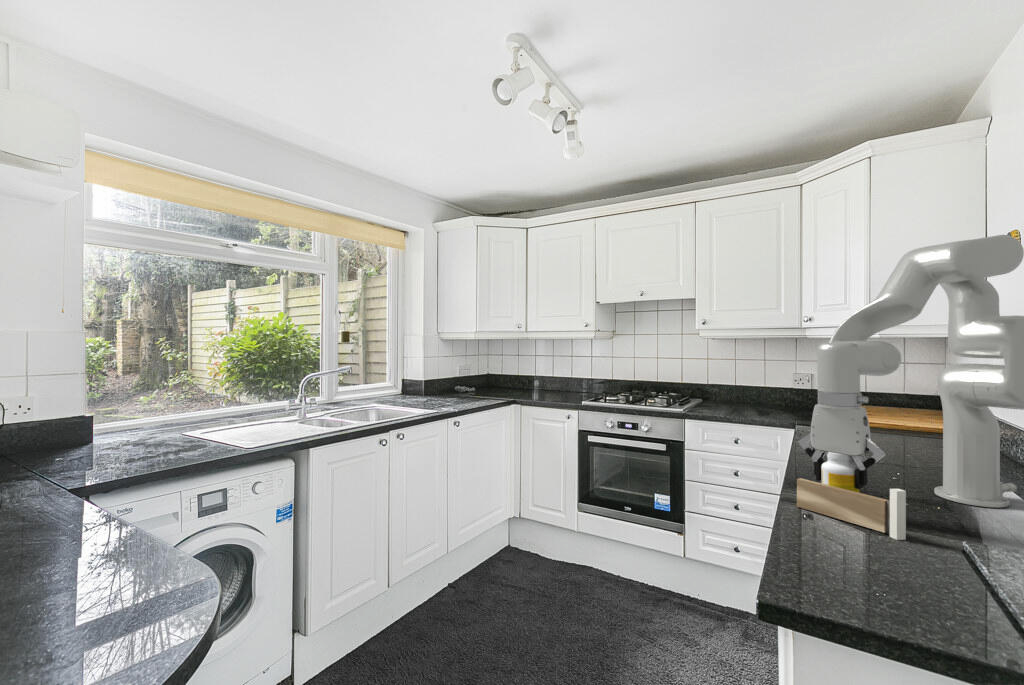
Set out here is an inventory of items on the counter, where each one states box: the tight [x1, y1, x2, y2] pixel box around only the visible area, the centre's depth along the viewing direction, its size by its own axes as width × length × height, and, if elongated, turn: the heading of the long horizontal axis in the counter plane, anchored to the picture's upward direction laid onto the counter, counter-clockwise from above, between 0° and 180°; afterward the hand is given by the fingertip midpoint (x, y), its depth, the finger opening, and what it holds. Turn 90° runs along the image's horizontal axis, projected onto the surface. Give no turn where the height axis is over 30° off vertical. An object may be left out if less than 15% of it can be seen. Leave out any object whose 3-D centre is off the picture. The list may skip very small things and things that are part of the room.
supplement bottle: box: [821, 452, 860, 493], centre depth 101 cm, size 7×7×13 cm
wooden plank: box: [796, 478, 890, 535], centre depth 97 cm, size 2×18×6 cm, turn 29°
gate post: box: [889, 488, 907, 541], centre depth 88 cm, size 2×2×9 cm
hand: (839, 482), depth 101 cm, fingers closed on supplement bottle, 6 cm apart
